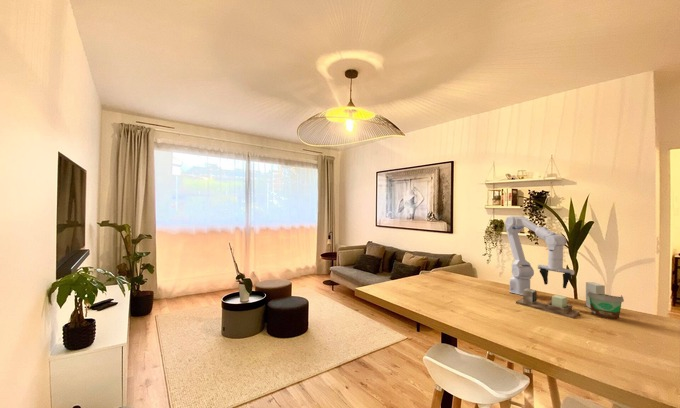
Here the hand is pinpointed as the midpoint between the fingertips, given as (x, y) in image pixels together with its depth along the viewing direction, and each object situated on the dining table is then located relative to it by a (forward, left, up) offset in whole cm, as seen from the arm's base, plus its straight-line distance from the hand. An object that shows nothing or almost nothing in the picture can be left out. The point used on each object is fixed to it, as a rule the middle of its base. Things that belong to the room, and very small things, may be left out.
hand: (555, 286), depth 138 cm
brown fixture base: (-1, -8, -10) cm, 13 cm away
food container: (+19, +2, -10) cm, 21 cm away
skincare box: (+13, +12, -10) cm, 20 cm away
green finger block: (+4, -8, -9) cm, 13 cm away
